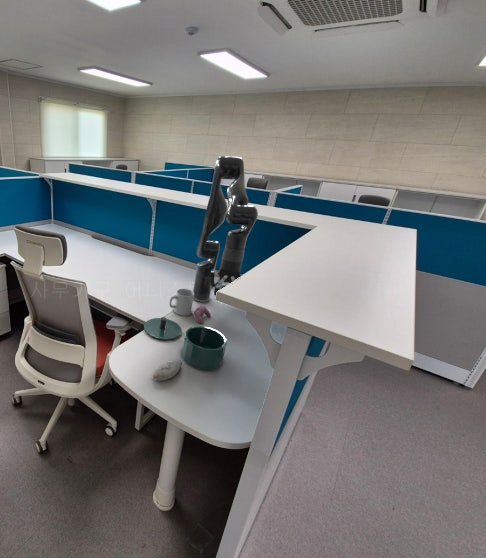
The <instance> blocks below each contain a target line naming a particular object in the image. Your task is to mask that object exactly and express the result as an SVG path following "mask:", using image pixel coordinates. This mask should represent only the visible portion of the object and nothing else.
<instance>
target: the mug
mask: <svg viewBox="0 0 486 558" xmlns="http://www.w3.org/2000/svg"><path fill="white" fill-rule="evenodd" d="M192 291H193V290H191V289H188V288H179V289H177V290H176V293H175V295H172V296H170V298H169V303H168V304H169V305H168V306H169V307H170V308H171V309H173V311H174V313H175V314H176V315H178V316H181V317H182V316H183V317H186V316H189V315H191V313H192V308H193V303H194V302H193V301H194V299H193V297H194V293H193V292H192ZM173 300H175V301H174V304H172V302H173Z"/></svg>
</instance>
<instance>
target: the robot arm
mask: <svg viewBox="0 0 486 558" xmlns="http://www.w3.org/2000/svg"><path fill="white" fill-rule="evenodd" d="M245 178H246V177H245V163H244V160H243V158H242V157H240V156H231V155H229V156H228V155H225V156H224V155H220V156H218V157H217V159H216V161H215V166H214V169H213V175H212V182H211V183H212V184H211V189H210V194H209V198H208V200H207V201H208V202H207V204H206V205H207V206H206V209H205V215H204V219H203V225H202V229H201V234H200V235H199V240H198V243H197V246H196V256H197V258H200V259H206V260H204V261H200V262H198V263H197V265H196V271H195V277H194V284H193V288H192V289H193V290H191V291H192V292H193V293H194V297H193V301H196V302H198V303H207V302H209V301H210V296H211V293H212V287H214V290H213V295H214V296H215V297H216V292H217V291H218V290H219V286H220V285H223V283H224V284H226V283H228V284H232V283H231V282H233V281H234V280H235V279H237V278H238V277H240V276H242V275H243V274H241V270H242V265H243V261H244V257H245V248H246V245H247V239H248V237H249V235H250V233H251V231H252V229H253V228H254V225H255V223H256V222H257V219H258V216H259V211H258V209H257V207H255V206H254V205H249V198H248V194H247V190H246V182H245V180H246V179H245ZM222 180H233V181H232V182H231V183H230V184H229V186H228V187H227V190H226V198H225V194H224V193H223V190H222ZM225 220H226V222H227V223H228V224H229V225H231V226H232V225H233V226H240V228H237V229H232V230H229V231H228V232H227V235H226V239H225V244H224V245H225V246H224V248H223V250H222V255H221V261H220V266H219V269H218V270H216V266H217V263H218V259H219V255H220V250H221V244H220V242H219V241H218V240H209V238H210V236H211V235H212V234H213V233H214V232H215V231H216V230H217V229H218V228H219V227H221V225H223V223H224V222H225ZM217 275H218V277H219V278H218V279H217V282H215V277H217ZM240 278H241V277H240ZM238 279H239V278H238ZM238 279H237V280H238Z"/></svg>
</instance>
